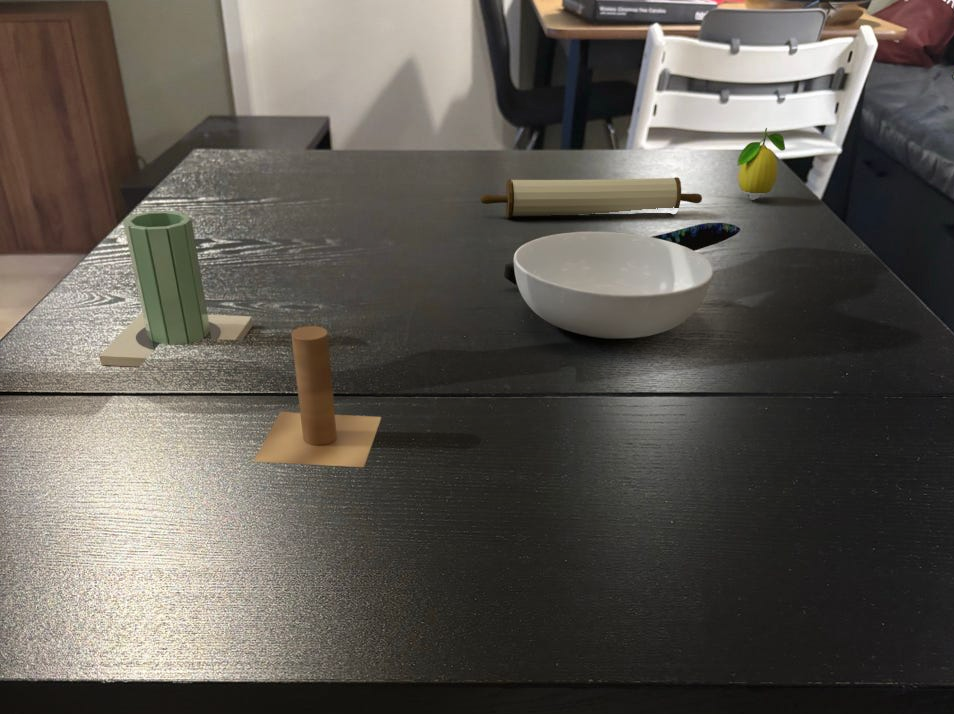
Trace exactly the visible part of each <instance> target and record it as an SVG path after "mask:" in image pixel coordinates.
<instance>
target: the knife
mask: <svg viewBox="0 0 954 714" xmlns="http://www.w3.org/2000/svg"><path fill="white" fill-rule="evenodd" d="M740 232H741V227H739V226H737V225H735V224H732V223H727V222H705V223H700V224H699V223H698V224H695V225H691V226H687V227H684V228H680V229H676V230H672V231H669V232H666V233H661V234H657V235H651V237H653V238H657V239H661V240H665V241H669V242H672V243H676V244H679V245H681V246H684V247H687V248H689V249H691V250H693V251H695V252H696V251H698V250H701V249H704V248H707V247H711V246H714V245H716V244H719V243H722V242H724V241H726V240H728V239H730V238H732V237H734V236H736V235H738V234H739V233H740ZM504 266H505V267H504V273H503V277H504V279H506V280H508V281H509V282H510V283H512V284H514V285H515V286H517V287H518V285H517V282H516V277H515V271H514V262H512V263H506V264H505V265H504Z"/></svg>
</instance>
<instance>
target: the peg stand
mask: <svg viewBox="0 0 954 714" xmlns="http://www.w3.org/2000/svg"><path fill="white" fill-rule="evenodd" d="M291 343H292V351H293V360H294V362H293V363H294V369H295V370H294V371H295V378H296V387H297V396H298V406H299V412H289V411H280V412H279V414H278V416H277V417H276V419H275V420H274V423H273V424H272V427H271V428H270V429H269V432H268V434H267V435H266V438H265V439H264V441H263V442H262V445H261V447H260V448H259V450H258V452H257V454H256V456H255V458H254V460H253V462H254V463H269V464H270V463H271V464H291V465H310V466H328V467H329V466H331V467H348V468H349V467H350V468H365V466H366V463H367V461H368V458H369V456H370V453H371V449H372V446H373V443H374V441H375V437H376V436H377V435H376V434H377V433H378V430H379V429H378V428H379V427H380V423H381V421H382V416H372V415H371V416H370V415H369V416H368V415H353V414H351V415H350V414H348V415H347V414H336V410H335V399H334V398H335V397H334V387H333V375H332V364H331V353H330V352H331V351H330V342H329V331H328V330H327V329H326V328H324V327H322V326H316V325H307V326H305V325H304V326H301V327H297V328H295V329H293V330H292V331H291Z"/></svg>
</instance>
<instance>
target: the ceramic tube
mask: <svg viewBox="0 0 954 714" xmlns="http://www.w3.org/2000/svg"><path fill="white" fill-rule="evenodd" d="M122 223H123V227H124V232H125V236H126V241H127V246H128V251H129V255H130V260H131V265H132V269H133V275H134V279H135V284H136V288H137V293H138V298H139V303H140V308H141V312H143V317H144V322H145V327H146V331H147V336H148V337H149V338H150V339H151V341H154V342H156V343H160V344H163V345H170V346H173V345H186V344H191V343H194V342H198V341H200V340H203V339H204V338H205V337H206V336H207V335H208V334H209V332H210V326H209V320H208V315H209V314H208V308H207V303H206V296H205V292H204V286H203V279H202V274H201V267H200V261H199V256H198V249H197V243H196V237H195V231H194V226H193V219H192V217H191V216H190V215H188V214H187V213H184V212H180V211H174V210H169V211H167V210H155V211H153V210H152V211H149V212H148V211H144V212H140V213H136V214H135V213H134V214H132V215H129V216H128V217H127V218H125V219H124V220H123V222H122Z"/></svg>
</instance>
